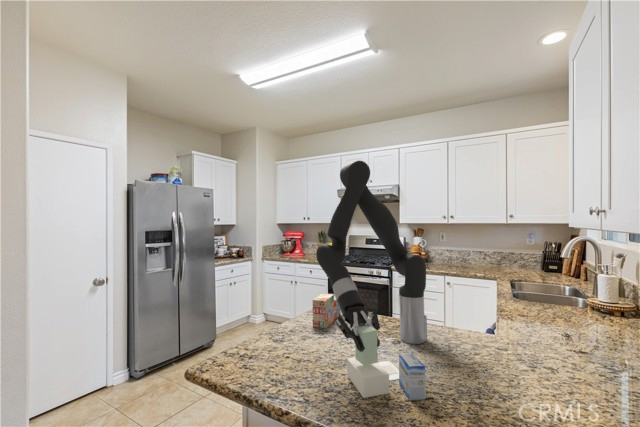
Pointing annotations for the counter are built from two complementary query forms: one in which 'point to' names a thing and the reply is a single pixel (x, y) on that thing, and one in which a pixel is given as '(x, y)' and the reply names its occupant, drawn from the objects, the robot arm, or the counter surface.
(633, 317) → the counter surface
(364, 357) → the sage brick
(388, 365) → the page
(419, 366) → the medicine box
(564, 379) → the counter surface
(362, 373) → the base brick
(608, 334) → the counter surface
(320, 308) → the printed cardboard box
